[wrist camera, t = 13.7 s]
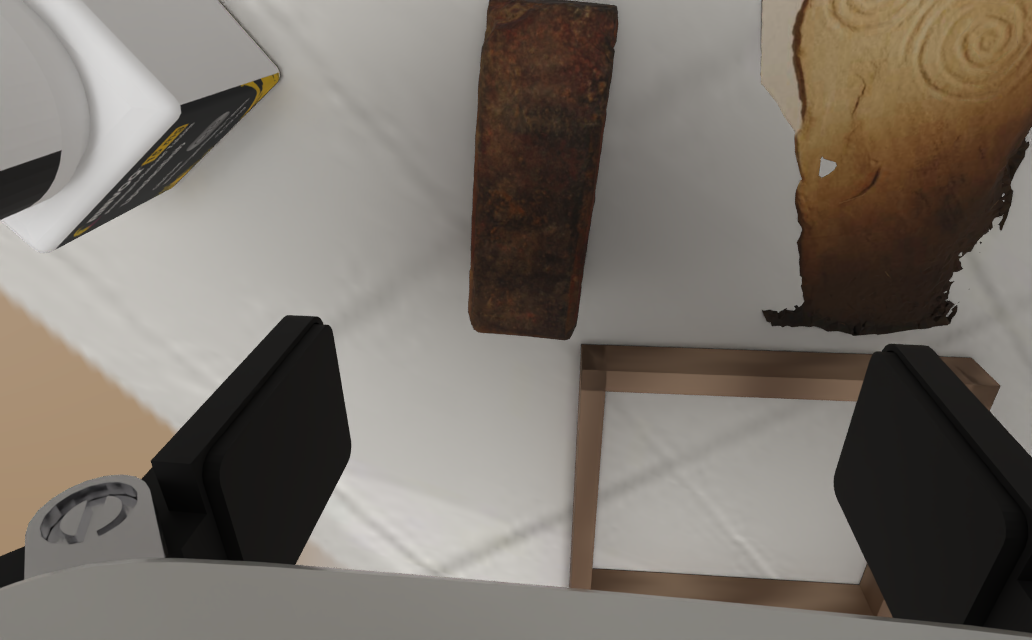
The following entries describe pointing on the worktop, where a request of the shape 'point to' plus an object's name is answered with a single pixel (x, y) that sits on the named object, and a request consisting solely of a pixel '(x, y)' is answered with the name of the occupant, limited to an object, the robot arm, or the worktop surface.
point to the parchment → (896, 147)
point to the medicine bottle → (113, 105)
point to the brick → (537, 162)
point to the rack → (719, 378)
